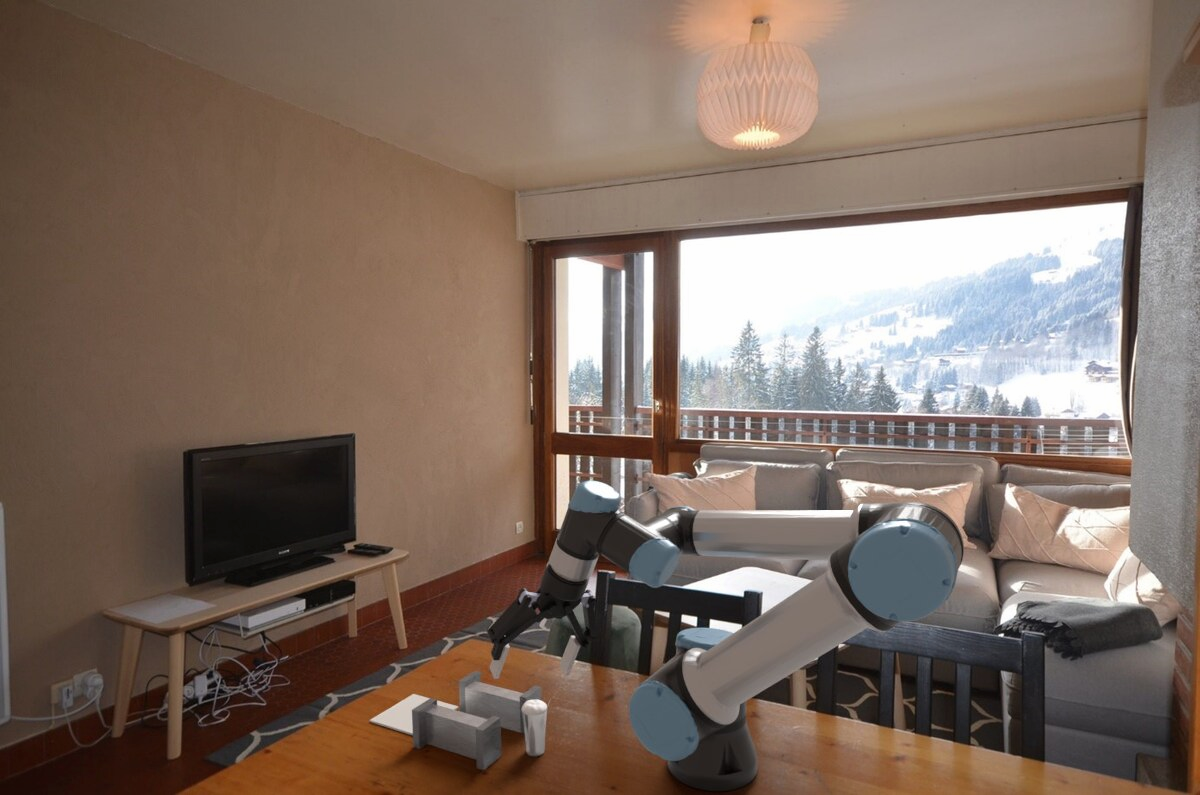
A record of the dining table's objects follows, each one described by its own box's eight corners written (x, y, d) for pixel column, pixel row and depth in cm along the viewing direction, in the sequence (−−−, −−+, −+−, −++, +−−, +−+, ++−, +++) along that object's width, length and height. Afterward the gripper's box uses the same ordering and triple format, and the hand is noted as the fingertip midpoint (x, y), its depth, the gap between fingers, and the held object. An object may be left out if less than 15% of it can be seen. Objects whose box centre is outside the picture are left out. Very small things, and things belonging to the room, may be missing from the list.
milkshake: (548, 760, 128) (547, 704, 127) (519, 757, 129) (517, 702, 128) (555, 746, 132) (554, 692, 132) (527, 743, 133) (525, 690, 133)
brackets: (542, 722, 141) (541, 686, 140) (483, 770, 125) (482, 730, 125) (476, 704, 149) (474, 670, 148) (413, 747, 133) (411, 709, 132)
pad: (458, 708, 147) (458, 706, 147) (416, 736, 136) (416, 734, 136) (413, 695, 153) (413, 693, 153) (369, 721, 142) (369, 719, 142)
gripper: (621, 559, 131) (582, 655, 137) (493, 552, 118) (456, 658, 124) (641, 584, 125) (599, 683, 131) (508, 580, 112) (468, 691, 118)
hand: (529, 671), depth 127 cm, fingers open, 13 cm apart
